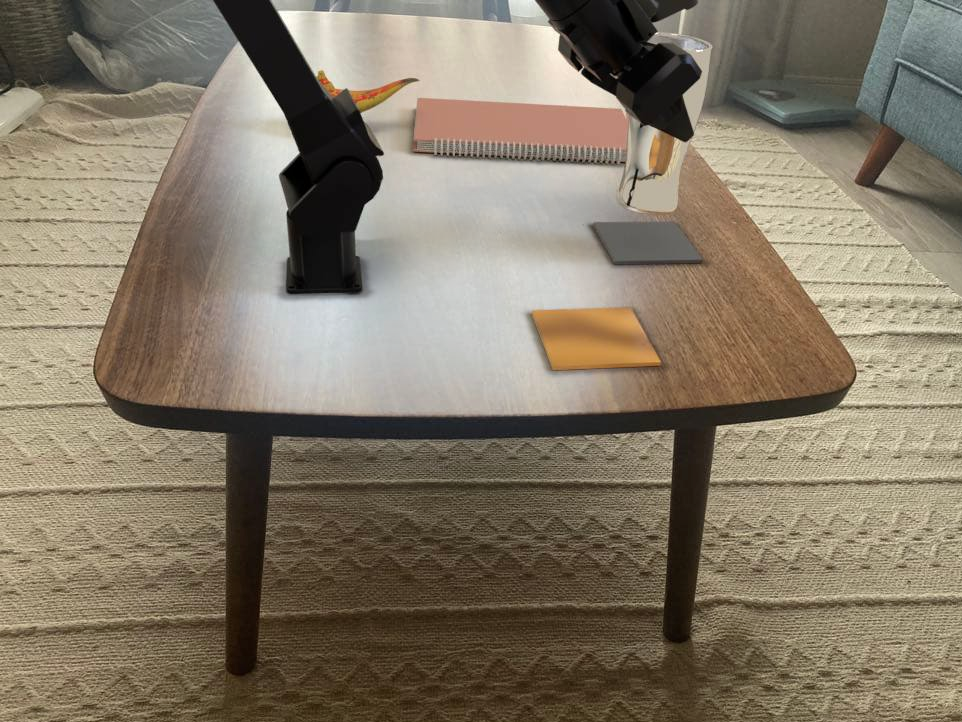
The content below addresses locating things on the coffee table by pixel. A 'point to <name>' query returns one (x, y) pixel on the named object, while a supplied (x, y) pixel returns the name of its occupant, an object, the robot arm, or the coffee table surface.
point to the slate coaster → (646, 243)
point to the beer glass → (661, 142)
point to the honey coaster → (594, 338)
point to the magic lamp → (367, 92)
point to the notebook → (520, 130)
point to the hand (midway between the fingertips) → (672, 125)
